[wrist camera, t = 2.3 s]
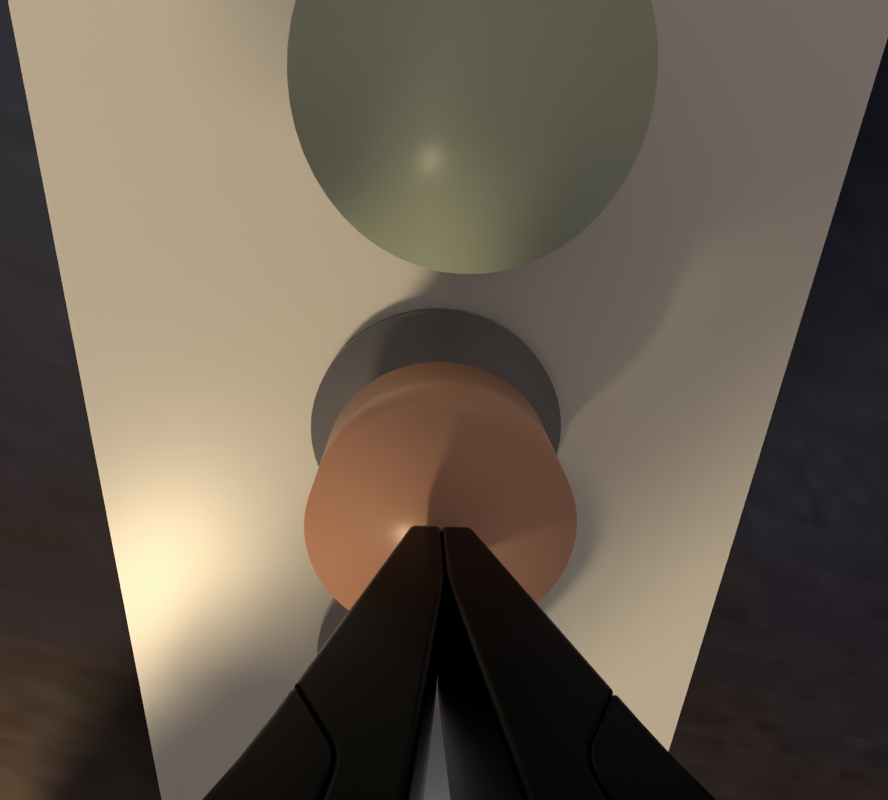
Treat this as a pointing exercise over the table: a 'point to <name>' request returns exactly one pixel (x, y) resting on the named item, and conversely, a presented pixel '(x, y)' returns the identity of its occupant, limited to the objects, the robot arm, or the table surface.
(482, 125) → the sage button
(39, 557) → the table surface
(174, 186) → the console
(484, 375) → the terracotta button
